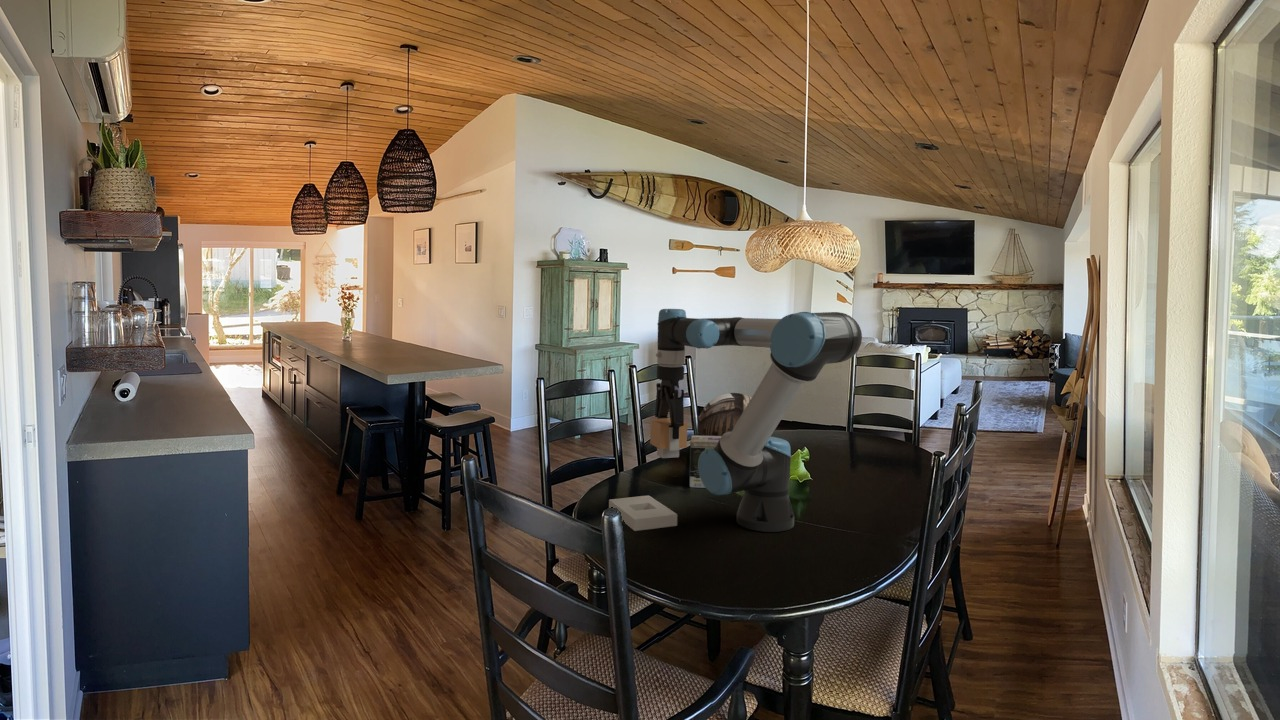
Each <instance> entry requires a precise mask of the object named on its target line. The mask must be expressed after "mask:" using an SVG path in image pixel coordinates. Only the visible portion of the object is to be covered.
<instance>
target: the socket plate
mask: <svg viewBox="0 0 1280 720" xmlns="http://www.w3.org/2000/svg"><path fill="white" fill-rule="evenodd" d="M611 507H613V508H617V509H618V510H619V511H620V512H621V516H622V520H621V521H622V522H623V520H624V522H625V523H624V522H623V523H624V524H625V525H627V526H628V527H629V528H630V529H631V530H633V531H634V532H637V531H644V530H645V531H646V530H654V529H660V528H662V529H663V528H670V527H676V526H678V513H676V512H675V511H673V510H671V508H668V506H666V505H664V504H662V503H661V502H660V501H658V500H656V499H655V498H653V497H652V496H650V495H640V496H631V497H621V498H612V499H608V509H609V508H611Z"/></svg>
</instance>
